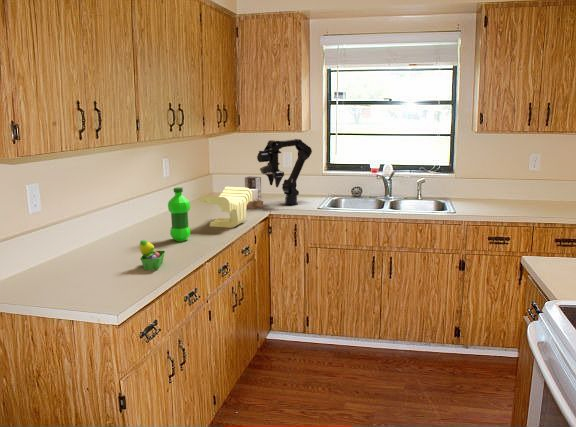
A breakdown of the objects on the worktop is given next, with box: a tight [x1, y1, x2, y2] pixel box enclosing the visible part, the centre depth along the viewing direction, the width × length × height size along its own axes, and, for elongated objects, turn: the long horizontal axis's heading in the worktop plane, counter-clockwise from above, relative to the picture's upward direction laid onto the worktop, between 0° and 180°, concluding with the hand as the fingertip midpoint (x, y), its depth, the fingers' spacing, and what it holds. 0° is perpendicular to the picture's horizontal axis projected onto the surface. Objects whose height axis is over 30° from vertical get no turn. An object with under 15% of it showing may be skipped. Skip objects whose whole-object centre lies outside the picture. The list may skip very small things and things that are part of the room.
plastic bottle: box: [167, 187, 191, 242], centre depth 251 cm, size 10×10×25 cm
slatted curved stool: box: [200, 186, 252, 229], centre depth 283 cm, size 30×16×18 cm, turn 162°
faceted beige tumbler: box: [250, 189, 258, 202], centre depth 329 cm, size 7×7×7 cm
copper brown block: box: [246, 199, 264, 210], centre depth 330 cm, size 10×10×4 cm
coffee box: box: [244, 175, 262, 201], centre depth 348 cm, size 9×6×16 cm
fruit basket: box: [139, 239, 166, 271], centre depth 212 cm, size 11×9×11 cm
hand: (274, 186), depth 328 cm, fingers open, 9 cm apart
